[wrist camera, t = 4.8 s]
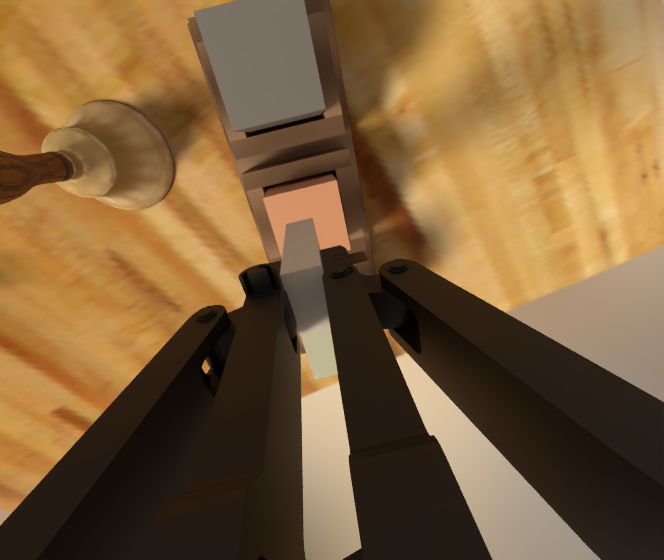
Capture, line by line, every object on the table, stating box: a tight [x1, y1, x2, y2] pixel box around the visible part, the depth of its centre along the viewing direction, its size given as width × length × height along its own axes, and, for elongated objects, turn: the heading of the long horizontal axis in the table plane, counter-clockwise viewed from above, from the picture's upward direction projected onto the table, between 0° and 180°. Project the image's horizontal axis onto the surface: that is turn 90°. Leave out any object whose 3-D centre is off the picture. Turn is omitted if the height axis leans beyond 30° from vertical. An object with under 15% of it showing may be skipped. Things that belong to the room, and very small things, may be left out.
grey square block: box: [194, 0, 326, 132], centre depth 17 cm, size 5×5×6 cm
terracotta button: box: [263, 171, 351, 257], centre depth 24 cm, size 5×5×6 cm
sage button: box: [301, 329, 338, 380], centre depth 25 cm, size 5×5×6 cm
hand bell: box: [0, 101, 173, 210], centre depth 18 cm, size 8×8×16 cm
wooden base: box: [187, 0, 376, 354], centre depth 26 cm, size 28×10×5 cm, turn 12°
